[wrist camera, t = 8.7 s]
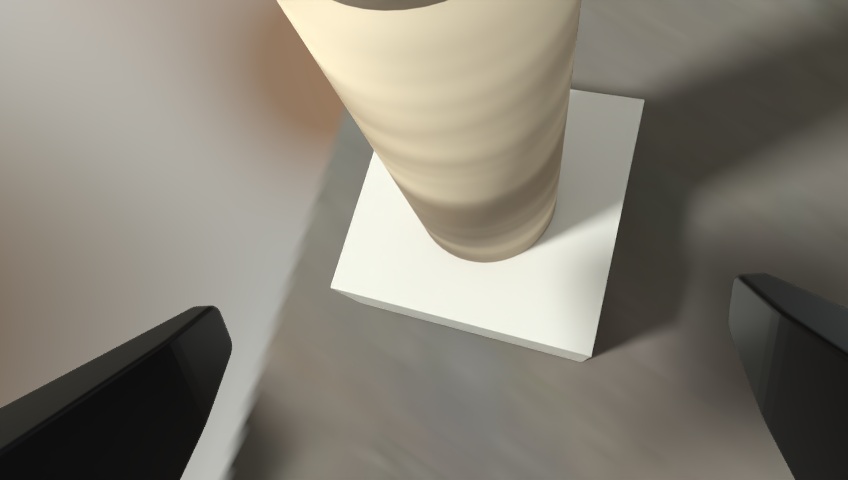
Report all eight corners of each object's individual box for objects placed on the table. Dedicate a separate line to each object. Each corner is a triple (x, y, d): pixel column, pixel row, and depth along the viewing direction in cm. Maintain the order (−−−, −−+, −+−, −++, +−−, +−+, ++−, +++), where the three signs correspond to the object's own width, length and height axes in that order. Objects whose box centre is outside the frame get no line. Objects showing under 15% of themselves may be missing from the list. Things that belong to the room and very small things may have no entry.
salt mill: (574, 242, 17) (672, -113, 5) (434, 278, 18) (226, 35, 6) (534, 117, 19) (538, -387, 7) (406, 154, 20) (195, -247, 7)
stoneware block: (581, 362, 20) (591, 356, 16) (360, 302, 22) (330, 287, 19) (627, 144, 22) (644, 99, 18) (420, 110, 24) (401, 65, 21)
